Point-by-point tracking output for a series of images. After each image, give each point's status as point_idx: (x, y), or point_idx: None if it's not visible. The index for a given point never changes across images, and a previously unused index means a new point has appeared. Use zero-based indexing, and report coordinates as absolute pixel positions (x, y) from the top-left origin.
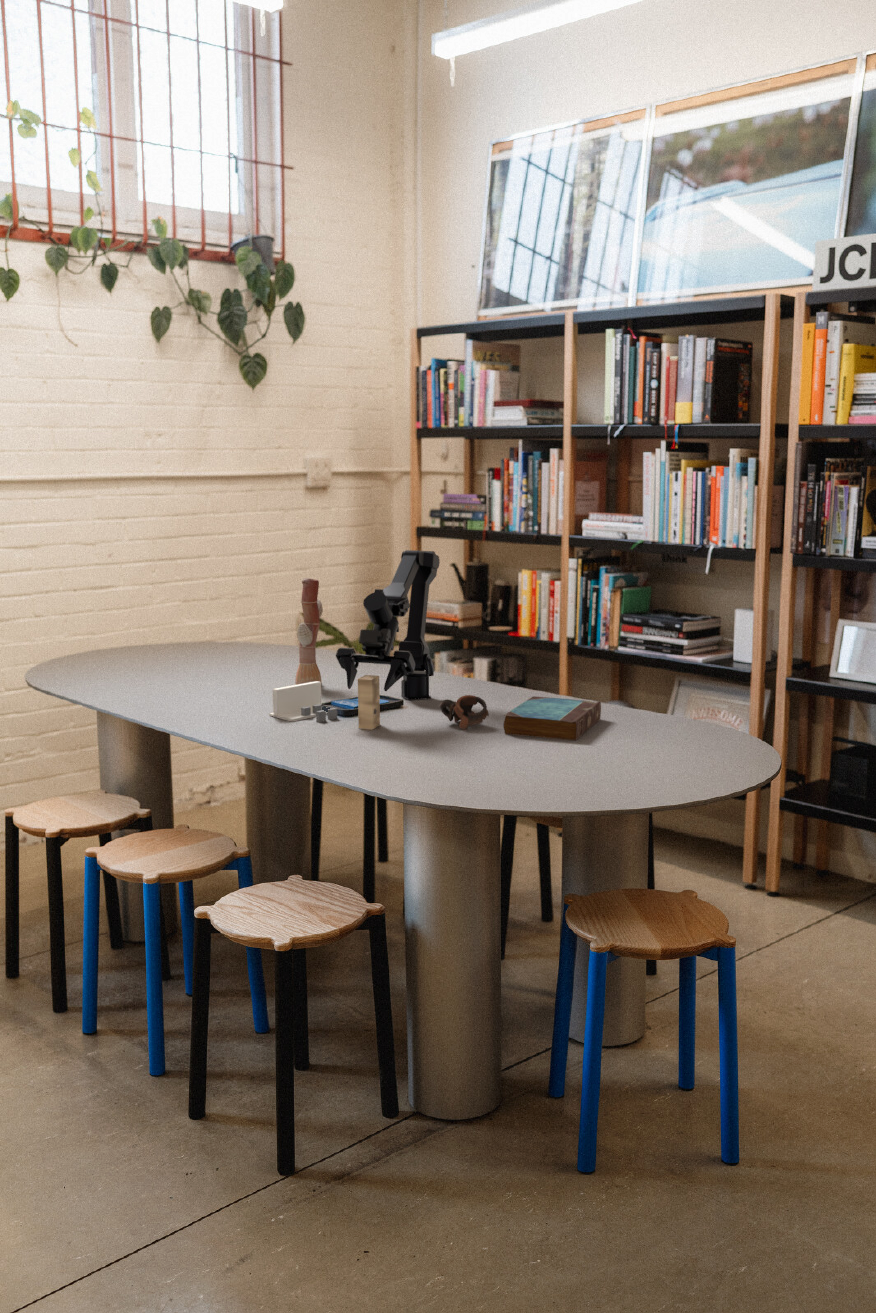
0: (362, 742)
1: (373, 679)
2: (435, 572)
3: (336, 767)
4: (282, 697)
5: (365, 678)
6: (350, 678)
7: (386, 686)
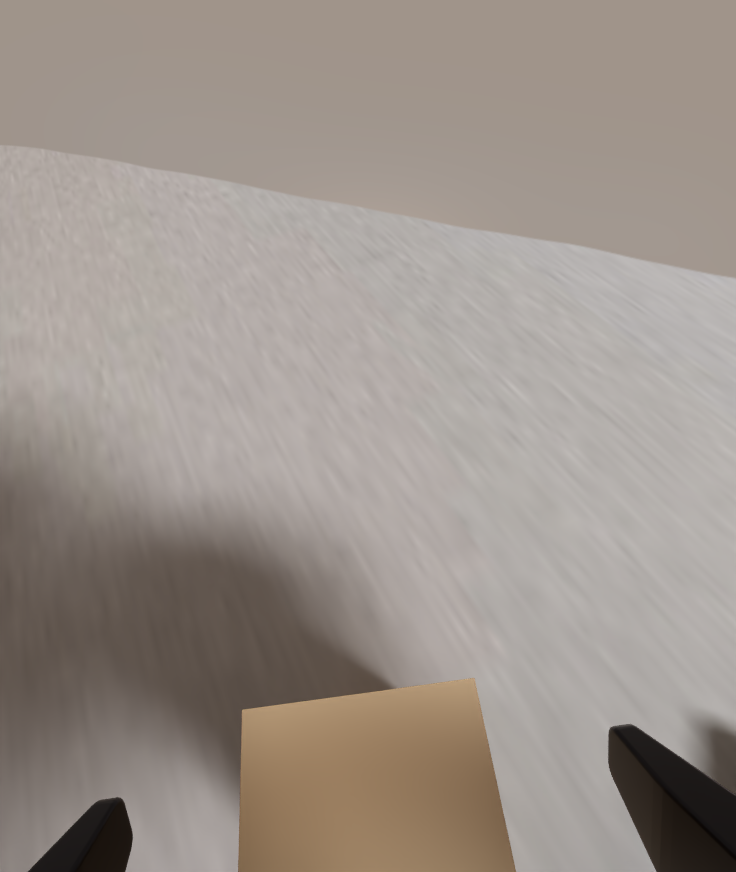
0: (264, 448)
1: (241, 806)
2: None
3: (229, 210)
4: None
5: (379, 771)
6: (702, 828)
7: (67, 832)
